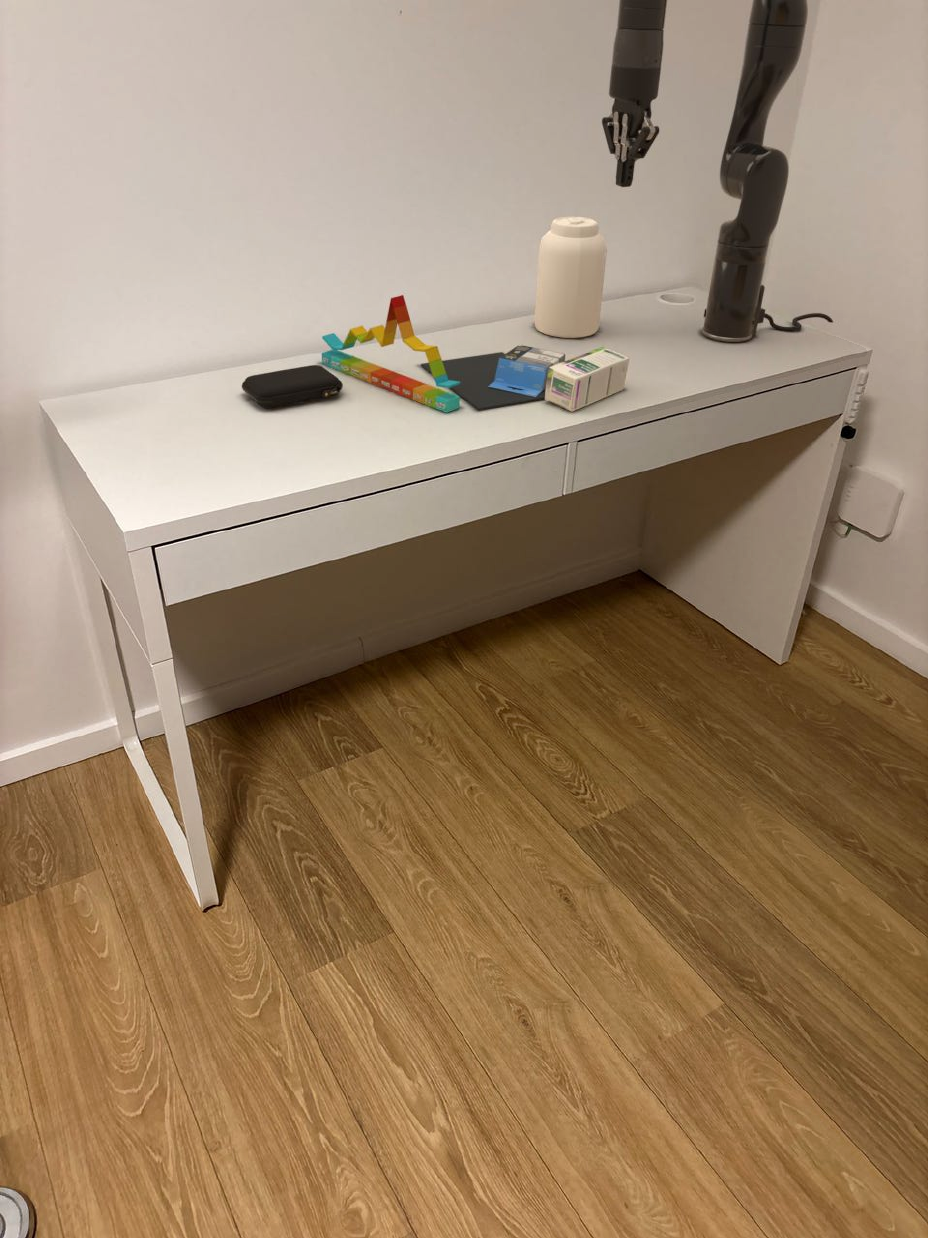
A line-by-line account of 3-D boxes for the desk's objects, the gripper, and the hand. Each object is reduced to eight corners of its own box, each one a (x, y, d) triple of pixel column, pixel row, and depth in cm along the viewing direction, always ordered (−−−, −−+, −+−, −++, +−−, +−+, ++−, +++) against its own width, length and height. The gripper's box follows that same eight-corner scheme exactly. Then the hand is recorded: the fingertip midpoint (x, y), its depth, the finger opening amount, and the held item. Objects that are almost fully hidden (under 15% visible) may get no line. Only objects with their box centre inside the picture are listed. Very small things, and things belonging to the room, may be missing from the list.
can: (538, 316, 194) (545, 210, 183) (601, 322, 192) (612, 214, 181) (529, 336, 184) (536, 224, 173) (595, 341, 182) (607, 229, 171)
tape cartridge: (566, 352, 164) (538, 374, 155) (564, 374, 166) (537, 397, 157) (518, 343, 167) (488, 364, 158) (517, 365, 169) (487, 387, 160)
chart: (321, 363, 169) (315, 275, 160) (335, 359, 171) (330, 271, 162) (445, 413, 152) (446, 317, 143) (459, 408, 154) (461, 312, 145)
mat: (501, 354, 175) (501, 351, 175) (565, 395, 159) (565, 393, 159) (420, 365, 169) (420, 363, 169) (478, 410, 153) (478, 408, 153)
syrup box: (630, 356, 159) (576, 377, 150) (624, 390, 162) (570, 412, 153) (602, 346, 162) (548, 365, 153) (596, 379, 165) (543, 400, 156)
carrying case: (264, 415, 149) (350, 398, 156) (262, 396, 147) (350, 380, 154) (239, 393, 156) (322, 377, 163) (237, 374, 155) (321, 360, 161)
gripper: (683, 66, 144) (666, 192, 154) (632, 58, 154) (619, 177, 164) (641, 67, 141) (627, 195, 151) (592, 59, 151) (581, 179, 161)
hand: (623, 185), depth 157 cm, fingers closed
